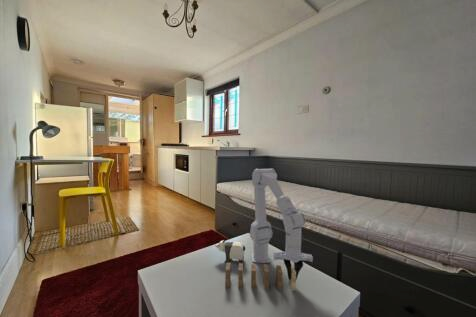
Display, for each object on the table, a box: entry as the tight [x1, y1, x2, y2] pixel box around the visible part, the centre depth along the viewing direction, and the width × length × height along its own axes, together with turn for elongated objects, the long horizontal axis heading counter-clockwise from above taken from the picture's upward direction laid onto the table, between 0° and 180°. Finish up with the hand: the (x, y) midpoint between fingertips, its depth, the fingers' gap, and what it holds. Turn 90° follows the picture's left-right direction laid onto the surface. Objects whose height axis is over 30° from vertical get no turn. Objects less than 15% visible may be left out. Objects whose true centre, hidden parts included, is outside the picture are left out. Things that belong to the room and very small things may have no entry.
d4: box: [263, 264, 270, 290], centre depth 78 cm, size 4×2×7 cm, turn 177°
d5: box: [275, 264, 283, 291], centre depth 77 cm, size 4×2×7 cm, turn 177°
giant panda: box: [215, 239, 246, 265], centre depth 94 cm, size 15×6×10 cm, turn 78°
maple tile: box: [288, 265, 297, 292], centre depth 77 cm, size 4×2×7 cm, turn 179°
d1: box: [224, 262, 232, 288], centre depth 78 cm, size 4×2×7 cm, turn 177°
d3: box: [250, 263, 257, 290], centre depth 78 cm, size 4×2×7 cm, turn 177°
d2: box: [237, 263, 244, 289], centre depth 78 cm, size 4×2×7 cm, turn 177°
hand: (292, 277), depth 77 cm, fingers closed on maple tile, 2 cm apart
